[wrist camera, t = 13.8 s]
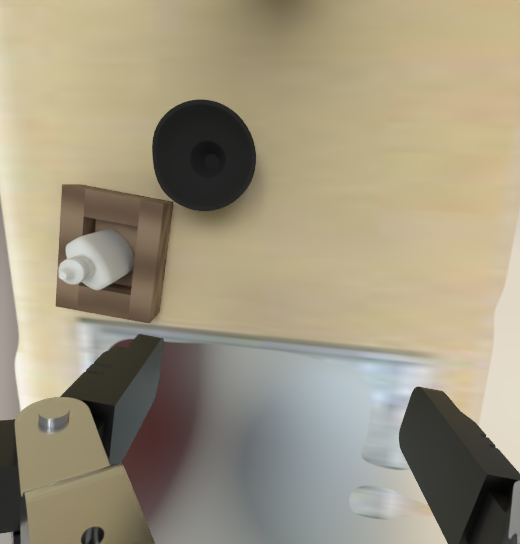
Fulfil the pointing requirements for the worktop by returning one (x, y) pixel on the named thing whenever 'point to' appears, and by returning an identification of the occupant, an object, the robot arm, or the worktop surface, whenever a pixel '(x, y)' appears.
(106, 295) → the recessed rectangular tray
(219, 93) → the worktop surface
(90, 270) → the eye dropper bottle
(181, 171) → the pen holder
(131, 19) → the worktop surface
